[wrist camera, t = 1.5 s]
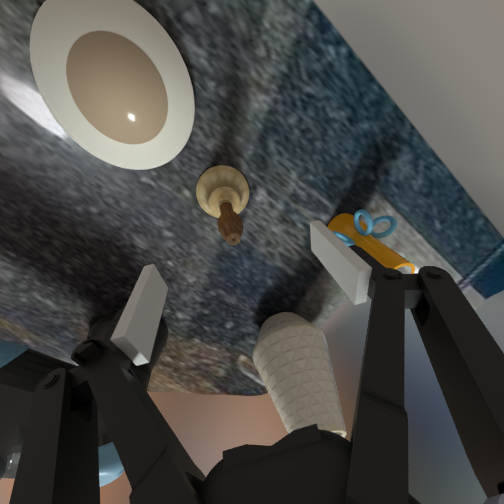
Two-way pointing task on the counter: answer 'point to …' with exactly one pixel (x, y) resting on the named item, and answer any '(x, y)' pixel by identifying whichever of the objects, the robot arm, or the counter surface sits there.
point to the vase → (298, 373)
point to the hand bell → (224, 199)
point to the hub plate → (113, 80)
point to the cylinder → (369, 238)
